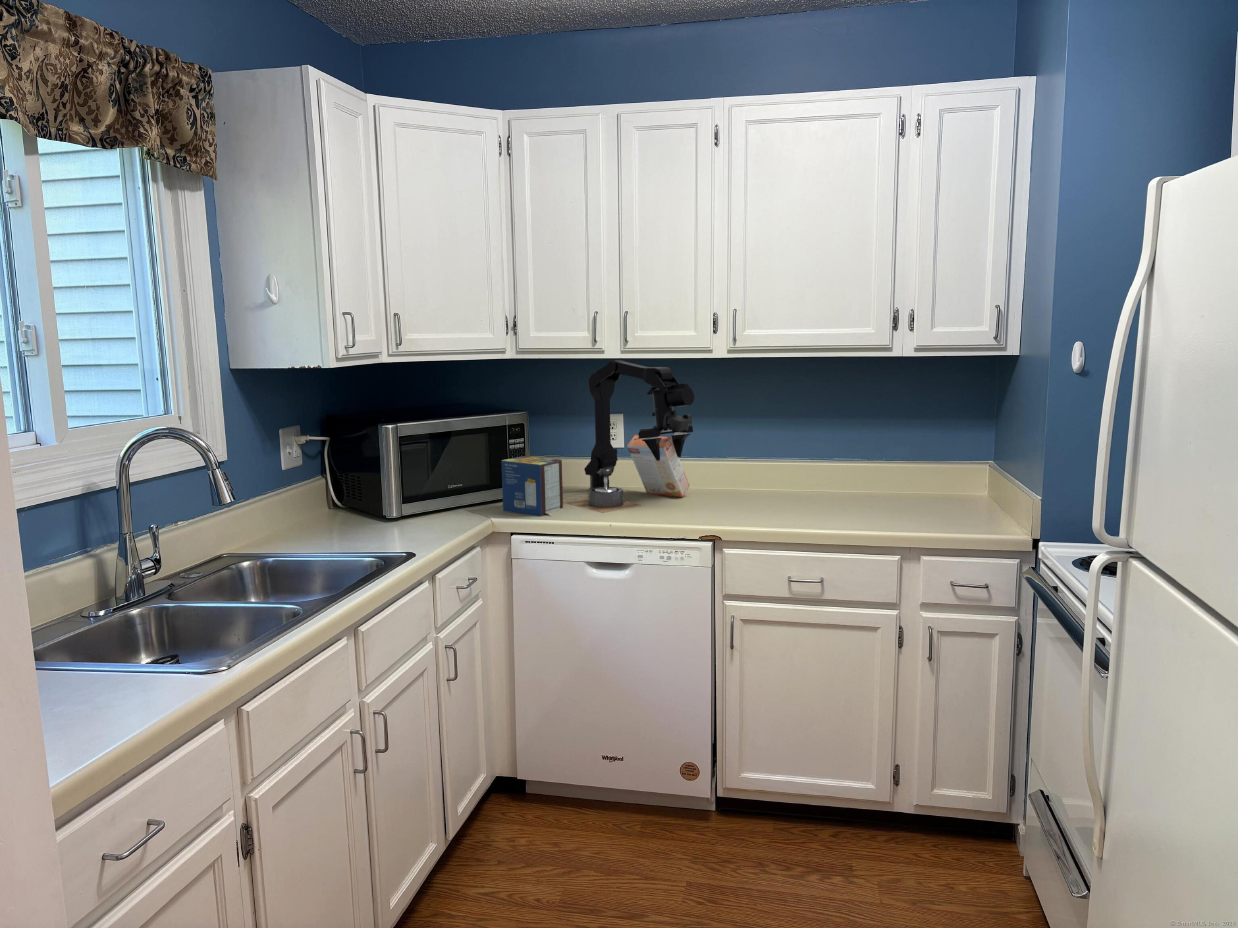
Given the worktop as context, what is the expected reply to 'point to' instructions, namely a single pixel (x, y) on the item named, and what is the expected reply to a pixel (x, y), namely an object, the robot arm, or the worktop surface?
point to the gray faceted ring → (605, 498)
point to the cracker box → (659, 467)
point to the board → (585, 504)
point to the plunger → (605, 481)
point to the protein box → (532, 485)
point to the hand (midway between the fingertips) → (668, 458)
